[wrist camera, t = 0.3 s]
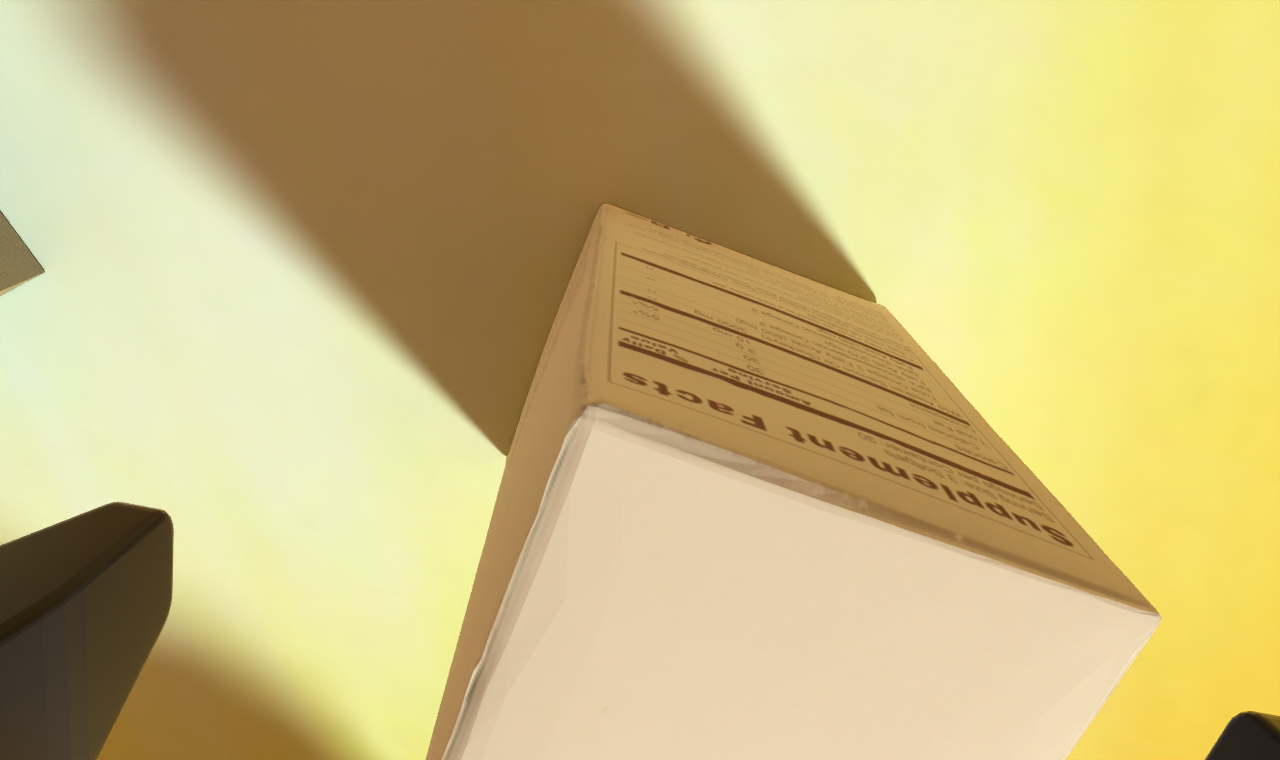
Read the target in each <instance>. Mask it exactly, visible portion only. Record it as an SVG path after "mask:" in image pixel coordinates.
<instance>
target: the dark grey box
mask: <svg viewBox="0 0 1280 760" xmlns="http://www.w3.org/2000/svg"><path fill="white" fill-rule="evenodd" d="M44 272H45V271H44V270H43V268H42V267H41V266H40V264H39V263H38V262H37V260H36V259H35V258H34V256H33V255H32V254H31V252H30V251H29V250H28V248H27V247H26V245H25V244H24V243H23V241H22V240H21V239H20V237H19V236H18V235H17V233H16V232H15V231H14V229H13V228H12V227H11V225H10V224H9V223H8V221H7V220H6V218H5V217H4V216H3V214H2V213H1V212H0V296H1V295H3V294H5V293H7V292H9V291H10V290H12V289H14V288H16V287H18V286H20V285H22V284H24V283H25V282H27V281H29V280H31V279H33V278H35V277H37V276H39V275H40V274H42V273H44Z"/></svg>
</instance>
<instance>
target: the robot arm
mask: <svg viewBox="0 0 1280 760" xmlns="http://www.w3.org/2000/svg"><path fill="white" fill-rule="evenodd" d="M173 533H174V531H173V523H172V520H171V517H170V516H169V515H168V514H167V513H166V512H165V511H164V510H161V509H156V508H150V507H145V506H140V505H134V504H129V503H123V502H113V503H110V504H106V505H104V506H101V507H98V508H96V509H93V510H91V511H88V512H86V513H83V514H80V515H78V516H75V517H73V518H70V519H68V520H65V521H62V522H60V523H57V524H55V525H52V526H50V527H47V528H44V529H42V530H39V531H37V532H34V533H31V534H29V535H26V536H24V537H21V538H19V539H16V540H13V541H11V542H8V543H6V544H3V545H1V546H0V760H96V759H97V757H98V755H99V753H100V751H101V749H102V747H103V745H104V743H105V741H106V739H107V737H108V735H109V734H110V732H111V730H112V728H113V726H114V724H115V722H116V720H117V718H118V716H119V714H120V712H121V710H122V708H123V706H124V704H125V702H126V700H127V698H128V696H129V694H130V692H131V690H132V688H133V686H134V684H135V682H136V680H137V678H138V676H139V674H140V672H141V670H142V669H143V667H144V665H145V663H146V661H147V659H148V657H149V655H150V653H151V651H152V649H153V647H154V645H155V643H156V641H157V639H158V637H159V635H160V633H161V631H162V629H163V627H164V625H165V622H166V620H167V617H168V614H169V610H170V607H171V601H172V586H173ZM1205 760H1280V716H1276V715H1270V714H1265V713H1259V712H1254V711H1247V712H1241V713H1240V714H1238V715H1236V716H1235V717H1233V718H1232V719H1231V720H1230V722H1229V723H1228V724H1227V726H1226V727H1225V729H1224V731H1223V732H1222V734H1221V735H1220V737H1219V738H1218V740H1217V742H1216V743H1215V745H1214V746H1213V748H1212V749H1211V751H1210V752H1209V754H1208V756H1207V757H1206V759H1205Z"/></svg>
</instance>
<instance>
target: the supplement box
mask: <svg viewBox="0 0 1280 760" xmlns="http://www.w3.org/2000/svg"><path fill="white" fill-rule="evenodd" d="M1160 621H1161V616H1160V614H1159V613H1158V612H1157V610H1156V609H1155V608H1154V607H1153V606H1152V605H1151V604H1150V603H1149V601H1148V600H1147V599H1146V598H1145V597H1144V596H1143V595H1142V594H1141V593H1140V592H1139V590H1138V589H1137V588H1136V587H1135V586H1134V585H1133V584H1132V583H1131V581H1130V580H1129V579H1128V578H1127V577H1126V576H1125V575H1124V574H1123V573H1122V571H1121V570H1120V569H1119V568H1118V567H1117V566H1116V565H1115V564H1114V563H1113V562H1112V561H1111V560H1110V559H1109V558H1108V557H1107V555H1106V554H1105V553H1104V552H1103V551H1102V550H1101V548H1100V547H1099V546H1098V545H1097V544H1096V543H1095V542H1094V540H1093V539H1092V538H1091V537H1090V536H1089V535H1088V534H1087V533H1086V531H1085V530H1084V529H1083V528H1082V527H1081V526H1080V525H1079V523H1078V522H1077V521H1076V520H1075V519H1074V518H1073V517H1072V516H1071V514H1070V513H1069V512H1068V511H1067V510H1066V509H1065V508H1064V506H1063V505H1062V504H1061V503H1060V502H1059V501H1058V500H1057V499H1056V498H1055V497H1054V496H1053V495H1052V493H1051V492H1050V491H1049V490H1048V489H1047V488H1046V487H1045V486H1044V485H1043V484H1042V482H1041V481H1040V480H1039V479H1038V478H1037V477H1036V476H1035V475H1034V474H1033V472H1032V471H1031V470H1030V469H1029V468H1028V467H1027V466H1026V465H1025V464H1024V463H1023V462H1022V460H1021V459H1020V458H1019V457H1018V456H1017V455H1016V454H1015V453H1014V452H1013V451H1012V449H1011V448H1010V447H1009V446H1008V445H1007V444H1006V443H1005V442H1004V441H1003V440H1002V439H1001V438H1000V437H999V435H998V434H997V433H996V432H995V431H994V430H993V429H992V428H991V427H990V425H989V424H988V423H987V422H986V421H985V419H984V418H983V417H982V416H981V415H980V413H979V412H978V411H977V410H976V409H975V408H974V407H973V406H972V405H971V404H970V403H969V402H968V400H967V399H966V398H965V397H964V396H963V395H962V394H961V392H960V391H959V390H958V389H957V388H956V386H955V385H954V384H953V383H952V382H951V381H950V379H949V378H948V377H947V376H946V375H945V374H944V373H943V372H942V371H941V369H940V368H939V367H938V366H937V364H936V363H935V362H933V361H932V360H931V358H930V357H929V356H928V355H927V354H926V353H925V351H924V350H923V349H922V348H921V347H920V346H919V345H918V343H917V342H916V341H915V340H914V339H913V338H912V337H911V335H910V334H909V333H908V332H907V331H906V330H905V329H904V327H903V326H902V325H901V324H900V323H899V322H898V321H897V320H896V318H895V317H894V316H893V315H892V314H891V313H890V312H889V311H888V310H887V309H886V308H885V307H884V306H882V305H880V304H877V303H873V302H870V301H867V300H864V299H862V298H859V297H856V296H854V295H851V294H848V293H845V292H843V291H840V290H837V289H835V288H832V287H829V286H826V285H824V284H821V283H818V282H816V281H813V280H810V279H808V278H805V277H802V276H800V275H797V274H794V273H792V272H789V271H786V270H784V269H781V268H778V267H776V266H773V265H770V264H768V263H765V262H762V261H760V260H757V259H754V258H752V257H749V256H747V255H744V254H741V253H739V252H736V251H733V250H731V249H728V248H725V247H723V246H720V245H717V244H715V243H712V242H709V241H707V240H704V239H701V238H699V237H696V236H693V235H691V234H688V233H685V232H683V231H680V230H677V229H675V228H672V227H670V226H667V225H664V224H662V223H659V222H656V221H654V220H651V219H648V218H645V217H643V216H640V215H637V214H635V213H632V212H629V211H626V210H624V209H621V208H619V207H616V206H613V205H610V204H607V203H604V204H602V205H601V206H600V207H599V209H598V211H597V214H596V216H595V219H594V221H593V224H592V226H591V229H590V231H589V234H588V236H587V239H586V241H585V244H584V246H583V249H582V251H581V254H580V256H579V259H578V261H577V264H576V266H575V269H574V271H573V274H572V276H571V279H570V281H569V284H568V286H567V289H566V291H565V294H564V297H563V299H562V302H561V304H560V307H559V310H558V312H557V315H556V317H555V320H554V322H553V325H552V328H551V330H550V333H549V336H548V338H547V341H546V344H545V346H544V349H543V352H542V355H541V358H540V361H539V364H538V367H537V370H536V373H535V375H534V378H533V381H532V384H531V387H530V390H529V393H528V396H527V399H526V402H525V404H524V407H523V411H522V414H521V417H520V420H519V423H518V426H517V430H516V433H515V436H514V439H513V442H512V445H511V448H510V451H509V454H508V456H507V459H506V465H505V469H504V473H503V477H502V480H501V484H500V488H499V491H498V495H497V499H496V502H495V506H494V510H493V514H492V518H491V522H490V526H489V529H488V533H487V537H486V541H485V544H484V548H483V551H482V555H481V558H480V562H479V565H478V569H477V572H476V576H475V580H474V584H473V588H472V592H471V595H470V599H469V602H468V606H467V610H466V613H465V617H464V621H463V624H462V628H461V632H460V636H459V639H458V643H457V647H456V650H455V654H454V657H453V661H452V665H451V668H450V672H449V675H448V679H447V683H446V686H445V690H444V694H443V698H442V701H441V705H440V709H439V712H438V716H437V720H436V723H435V727H434V731H433V734H432V738H431V742H430V746H429V749H428V753H427V757H426V760H1065V759H1066V758H1067V756H1068V755H1069V754H1070V752H1071V751H1072V749H1073V748H1074V746H1075V745H1076V743H1077V742H1078V740H1079V739H1080V738H1081V736H1082V735H1083V733H1084V732H1085V730H1086V729H1087V728H1088V726H1089V725H1090V723H1091V722H1092V720H1093V719H1094V718H1095V716H1096V715H1097V713H1098V712H1099V710H1100V709H1101V707H1102V706H1103V705H1104V703H1105V702H1106V700H1107V699H1108V697H1109V696H1110V695H1111V693H1112V692H1113V690H1114V689H1115V687H1116V686H1117V685H1118V683H1119V682H1120V680H1121V679H1122V677H1123V675H1124V674H1125V672H1126V671H1127V670H1128V668H1129V667H1130V665H1131V664H1132V662H1133V661H1134V660H1135V658H1136V657H1137V655H1138V654H1139V653H1140V651H1141V650H1142V648H1143V647H1144V646H1145V644H1146V643H1147V641H1148V640H1149V639H1150V637H1151V636H1152V634H1153V633H1154V632H1155V630H1156V629H1157V627H1158V626H1159V624H1160Z"/></svg>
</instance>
